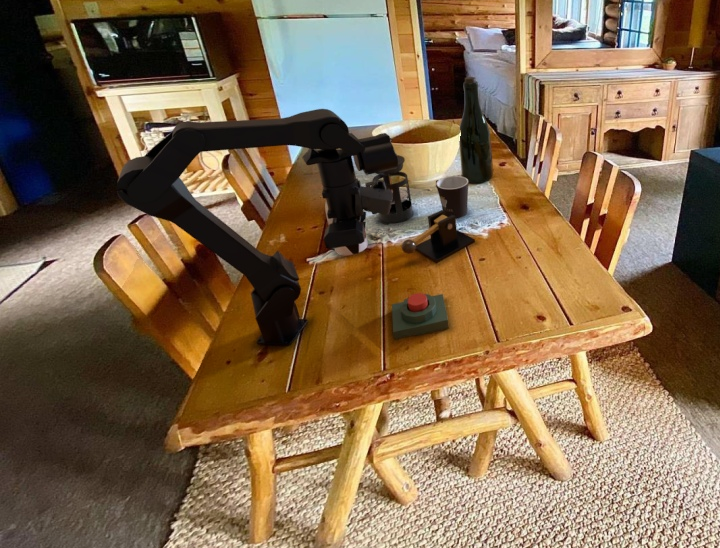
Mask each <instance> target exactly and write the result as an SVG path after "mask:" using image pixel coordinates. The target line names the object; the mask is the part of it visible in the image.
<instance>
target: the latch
mask: <svg viewBox="0 0 720 548" xmlns="http://www.w3.org/2000/svg"><path fill="white" fill-rule="evenodd" d="M445 218H447V216H445V215H441V216H440V217H438V218H437V219H435V220H434V223H435V225H433V226H432V227H430V228H429V227H428V229H426V230H425V231H423V232H422V233H420V234H419V235H418V236H416V237H415V238H413V239H406V240H404V241H403V242H402V243H401V250H402V252H403V253H405V254H413V253H414V252H416V250H415V249H416V245H418V244H420V243H422V242H424V241H425V240H426V239H427V238H429V237H430V235H431V234H432V233H434V232H435V231H436V230H438V229H439V225H438V222H439V221H441V220H443V219H445Z"/></svg>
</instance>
